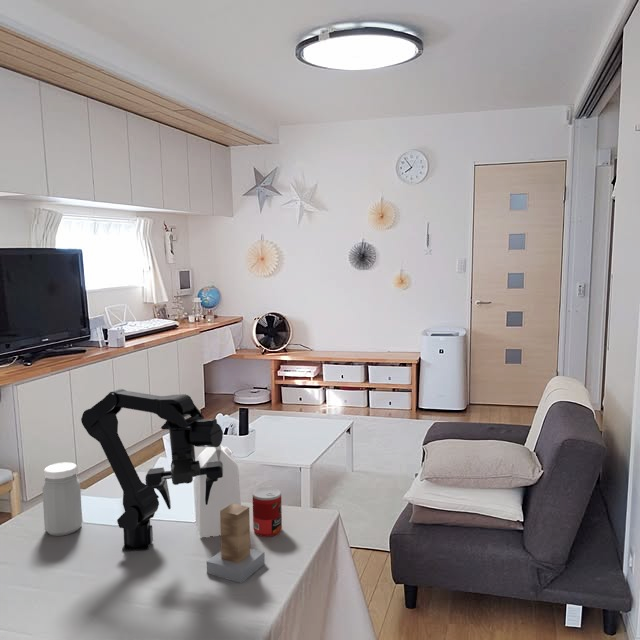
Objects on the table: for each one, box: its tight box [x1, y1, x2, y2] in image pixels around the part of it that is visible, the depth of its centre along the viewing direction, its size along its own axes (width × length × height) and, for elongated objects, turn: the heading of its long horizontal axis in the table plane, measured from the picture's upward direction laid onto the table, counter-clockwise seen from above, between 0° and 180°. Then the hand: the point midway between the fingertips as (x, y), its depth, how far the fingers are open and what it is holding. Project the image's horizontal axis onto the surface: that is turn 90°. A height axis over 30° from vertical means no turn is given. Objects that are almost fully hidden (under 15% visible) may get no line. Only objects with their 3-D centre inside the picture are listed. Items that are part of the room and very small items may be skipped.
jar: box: [41, 461, 83, 537], centre depth 169 cm, size 10×10×18 cm
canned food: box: [252, 487, 283, 538], centre depth 168 cm, size 8×8×11 cm
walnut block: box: [220, 504, 251, 564], centre depth 147 cm, size 5×5×12 cm
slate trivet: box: [206, 548, 266, 584], centre depth 148 cm, size 10×10×3 cm
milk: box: [195, 443, 241, 539], centre depth 170 cm, size 12×12×26 cm
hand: (188, 506), depth 154 cm, fingers open, 9 cm apart
